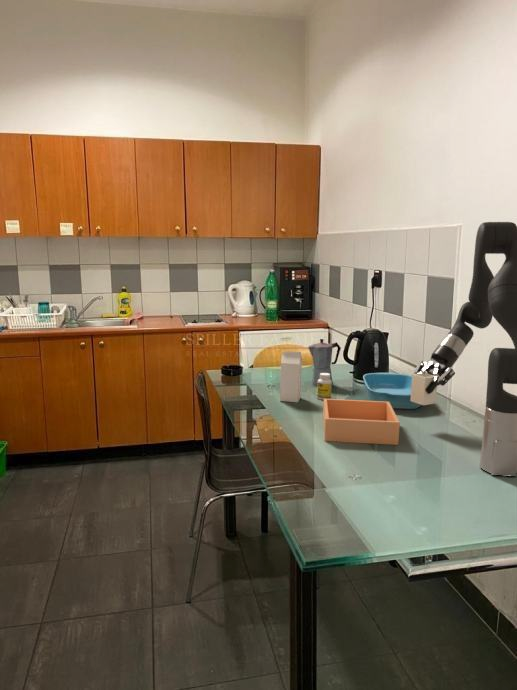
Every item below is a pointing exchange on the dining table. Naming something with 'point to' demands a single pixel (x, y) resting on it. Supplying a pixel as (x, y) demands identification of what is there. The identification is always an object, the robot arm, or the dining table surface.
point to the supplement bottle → (324, 386)
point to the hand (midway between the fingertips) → (420, 389)
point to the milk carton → (290, 376)
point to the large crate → (360, 421)
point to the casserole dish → (390, 389)
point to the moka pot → (322, 359)
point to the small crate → (422, 389)
